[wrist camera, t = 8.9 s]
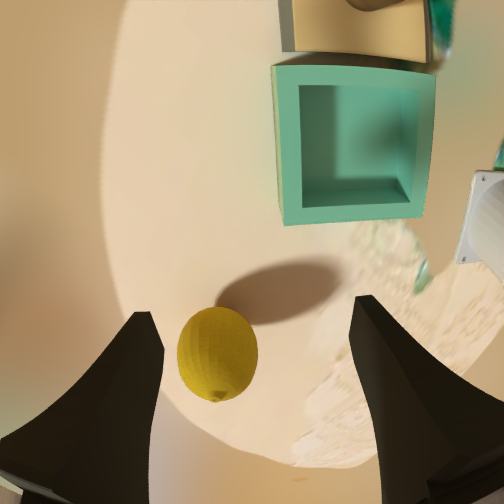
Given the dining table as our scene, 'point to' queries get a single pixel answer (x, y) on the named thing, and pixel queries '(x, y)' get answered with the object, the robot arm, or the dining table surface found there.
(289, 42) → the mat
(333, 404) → the dining table surface
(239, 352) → the lemon
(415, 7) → the lid
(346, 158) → the dish
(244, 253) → the dining table surface
